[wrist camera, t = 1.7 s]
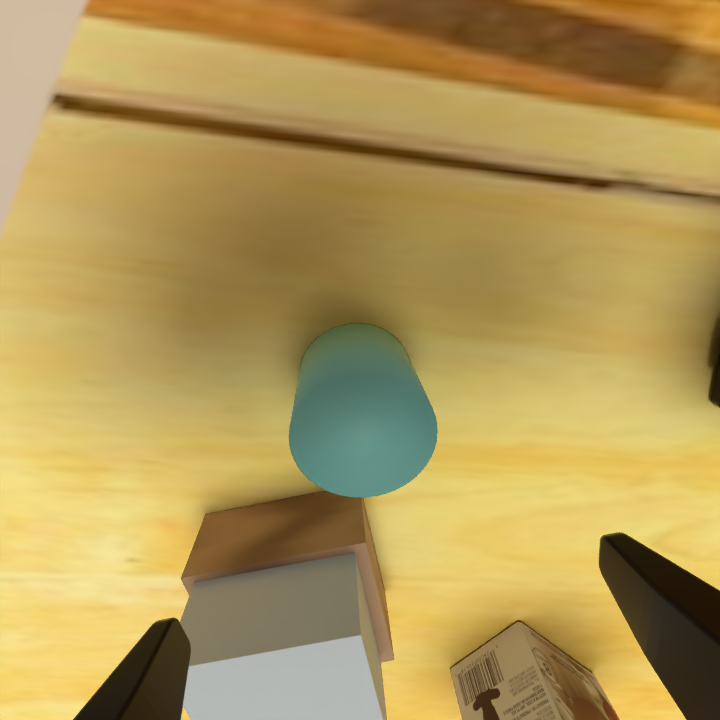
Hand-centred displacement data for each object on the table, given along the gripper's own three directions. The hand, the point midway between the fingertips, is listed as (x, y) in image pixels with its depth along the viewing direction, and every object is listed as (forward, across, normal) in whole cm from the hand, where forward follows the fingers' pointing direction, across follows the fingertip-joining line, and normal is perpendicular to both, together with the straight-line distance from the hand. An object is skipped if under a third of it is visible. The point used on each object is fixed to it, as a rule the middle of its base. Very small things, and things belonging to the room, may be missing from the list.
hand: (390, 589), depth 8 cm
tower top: (+7, +5, +10) cm, 13 cm away
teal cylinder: (+11, 0, 0) cm, 11 cm away
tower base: (+11, +5, +10) cm, 16 cm away
